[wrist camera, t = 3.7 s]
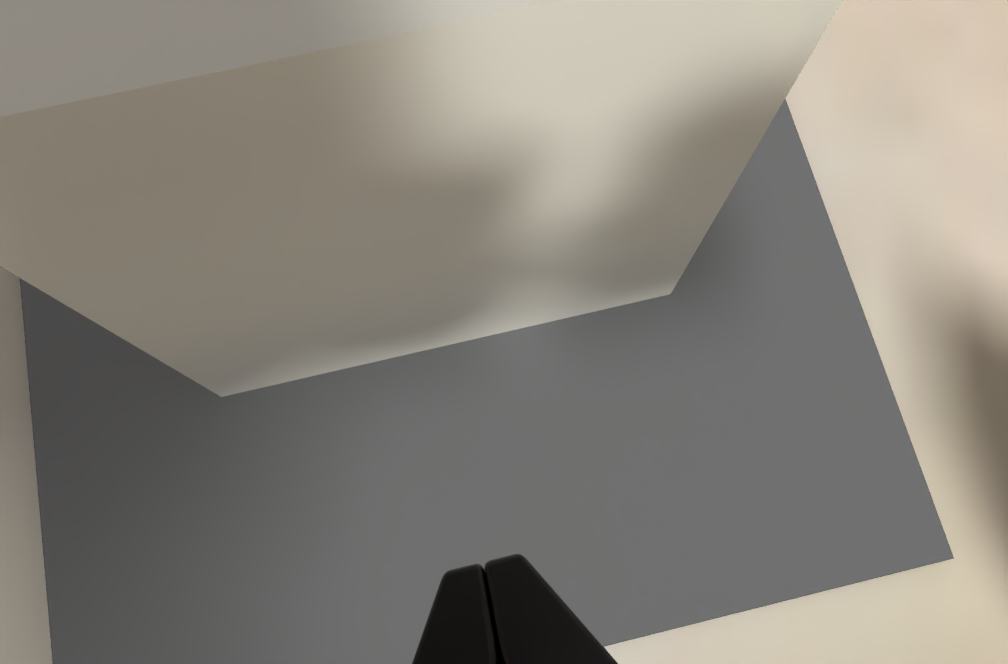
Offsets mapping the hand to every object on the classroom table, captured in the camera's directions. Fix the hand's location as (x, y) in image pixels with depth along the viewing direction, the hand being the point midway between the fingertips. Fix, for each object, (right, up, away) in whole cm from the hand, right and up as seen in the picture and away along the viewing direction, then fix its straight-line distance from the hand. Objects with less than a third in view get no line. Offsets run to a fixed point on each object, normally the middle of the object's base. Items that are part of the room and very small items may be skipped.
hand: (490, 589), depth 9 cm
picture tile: (-1, +4, +10) cm, 11 cm away
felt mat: (-2, +6, +11) cm, 13 cm away
